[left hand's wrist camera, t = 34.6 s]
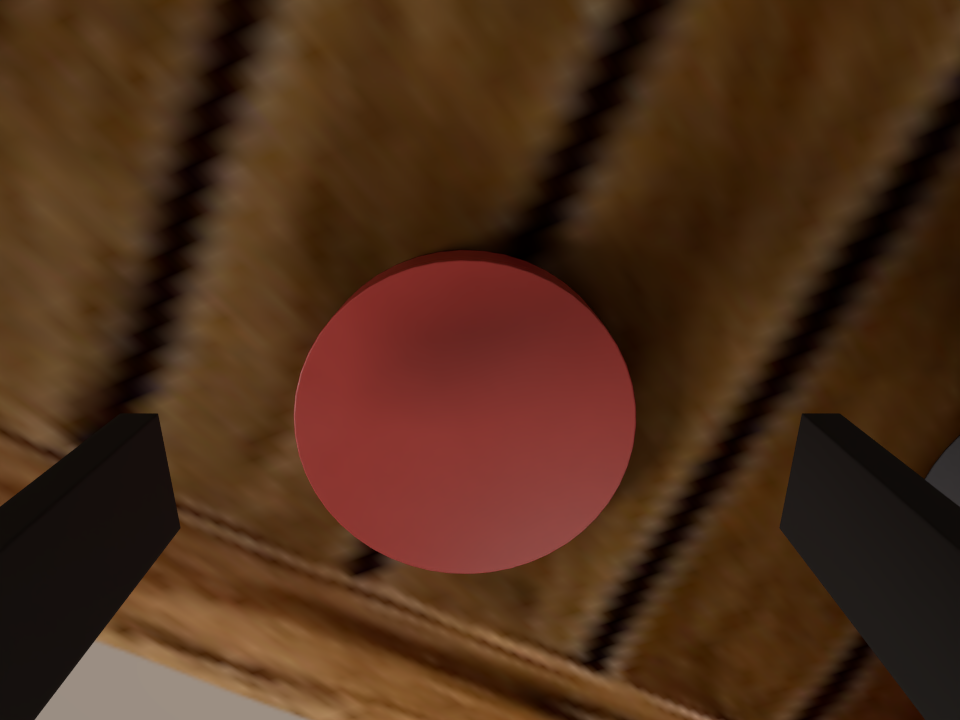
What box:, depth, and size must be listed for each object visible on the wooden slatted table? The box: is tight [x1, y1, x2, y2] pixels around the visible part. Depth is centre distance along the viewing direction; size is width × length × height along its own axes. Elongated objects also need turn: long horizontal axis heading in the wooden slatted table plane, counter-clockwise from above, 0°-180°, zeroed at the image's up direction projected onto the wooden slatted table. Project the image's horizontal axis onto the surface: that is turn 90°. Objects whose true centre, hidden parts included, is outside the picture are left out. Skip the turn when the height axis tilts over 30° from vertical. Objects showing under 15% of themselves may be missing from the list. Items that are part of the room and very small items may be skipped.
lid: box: [294, 250, 636, 574], centre depth 18 cm, size 9×9×2 cm
